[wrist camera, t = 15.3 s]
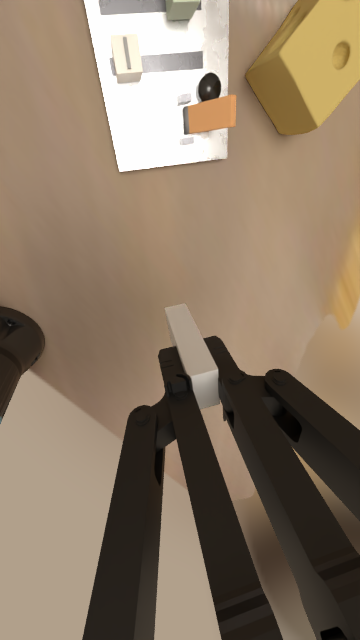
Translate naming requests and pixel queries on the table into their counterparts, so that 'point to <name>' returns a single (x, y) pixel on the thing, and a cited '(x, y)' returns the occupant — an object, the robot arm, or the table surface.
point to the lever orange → (210, 115)
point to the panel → (162, 79)
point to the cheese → (309, 64)
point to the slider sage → (181, 9)
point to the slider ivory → (126, 57)
